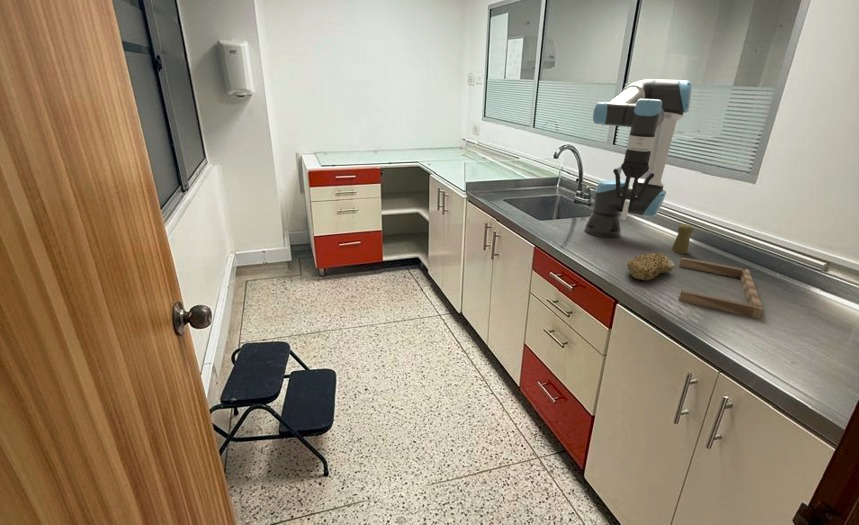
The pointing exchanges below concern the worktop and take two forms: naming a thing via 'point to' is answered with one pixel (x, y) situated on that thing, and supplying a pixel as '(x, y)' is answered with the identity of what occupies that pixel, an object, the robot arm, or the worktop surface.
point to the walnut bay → (749, 309)
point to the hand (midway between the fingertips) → (623, 218)
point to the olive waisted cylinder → (682, 239)
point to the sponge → (649, 266)
